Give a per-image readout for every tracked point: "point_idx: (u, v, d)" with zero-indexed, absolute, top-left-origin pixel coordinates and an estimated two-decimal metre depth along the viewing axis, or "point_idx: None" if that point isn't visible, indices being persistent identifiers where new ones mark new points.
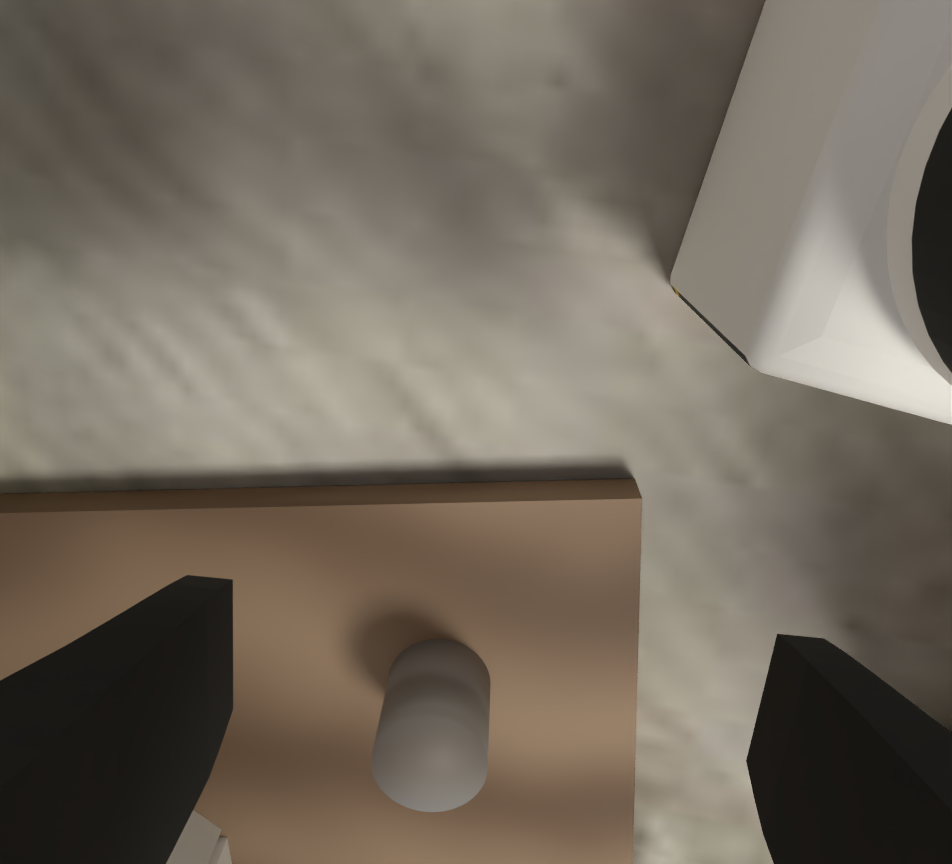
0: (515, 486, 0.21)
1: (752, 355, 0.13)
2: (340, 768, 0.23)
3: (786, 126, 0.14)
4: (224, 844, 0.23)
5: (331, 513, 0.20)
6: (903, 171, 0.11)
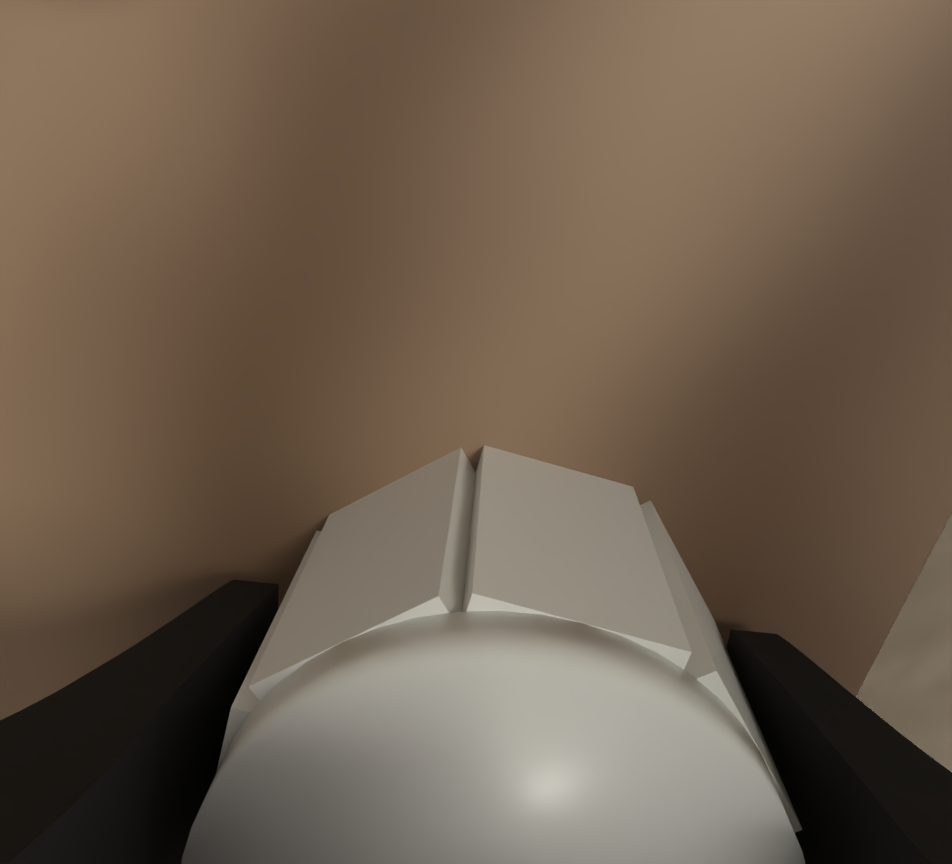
0: None
1: None
2: (369, 117, 0.10)
3: None
4: (484, 452, 0.11)
5: None
6: None
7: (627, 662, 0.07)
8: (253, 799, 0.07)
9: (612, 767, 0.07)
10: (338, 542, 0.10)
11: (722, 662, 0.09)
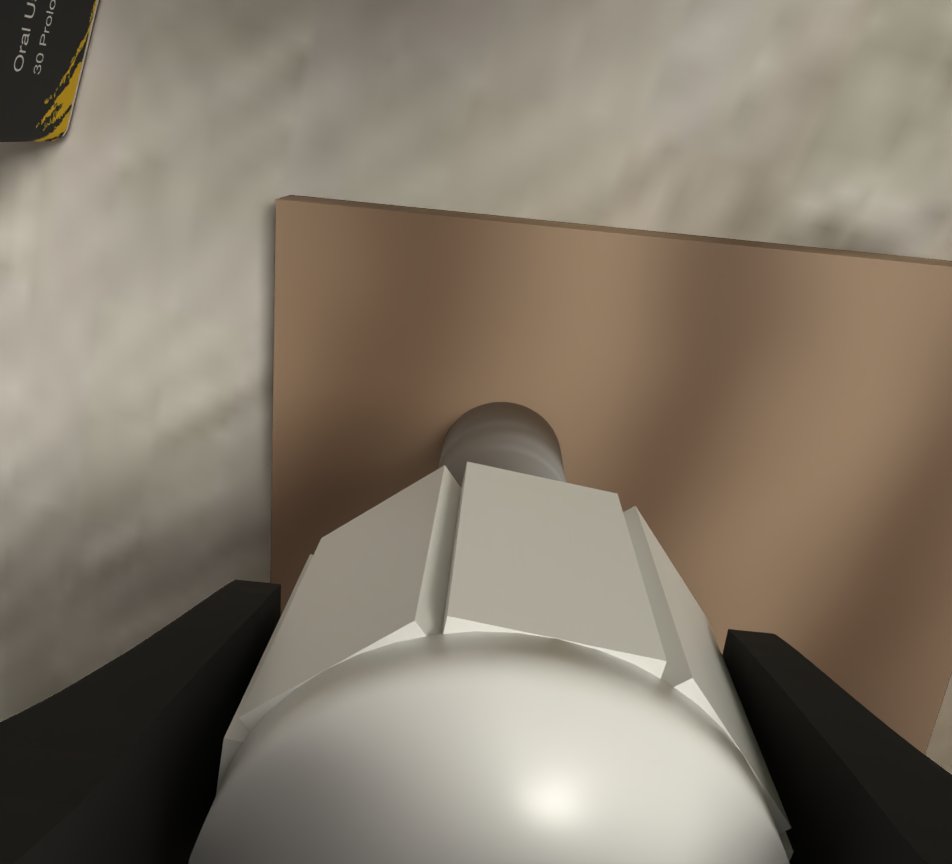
0: None
1: None
2: None
3: None
4: (468, 469, 0.11)
5: (280, 532, 0.19)
6: None
7: (601, 676, 0.07)
8: (246, 827, 0.07)
9: (590, 779, 0.07)
10: (329, 567, 0.10)
11: (706, 666, 0.09)
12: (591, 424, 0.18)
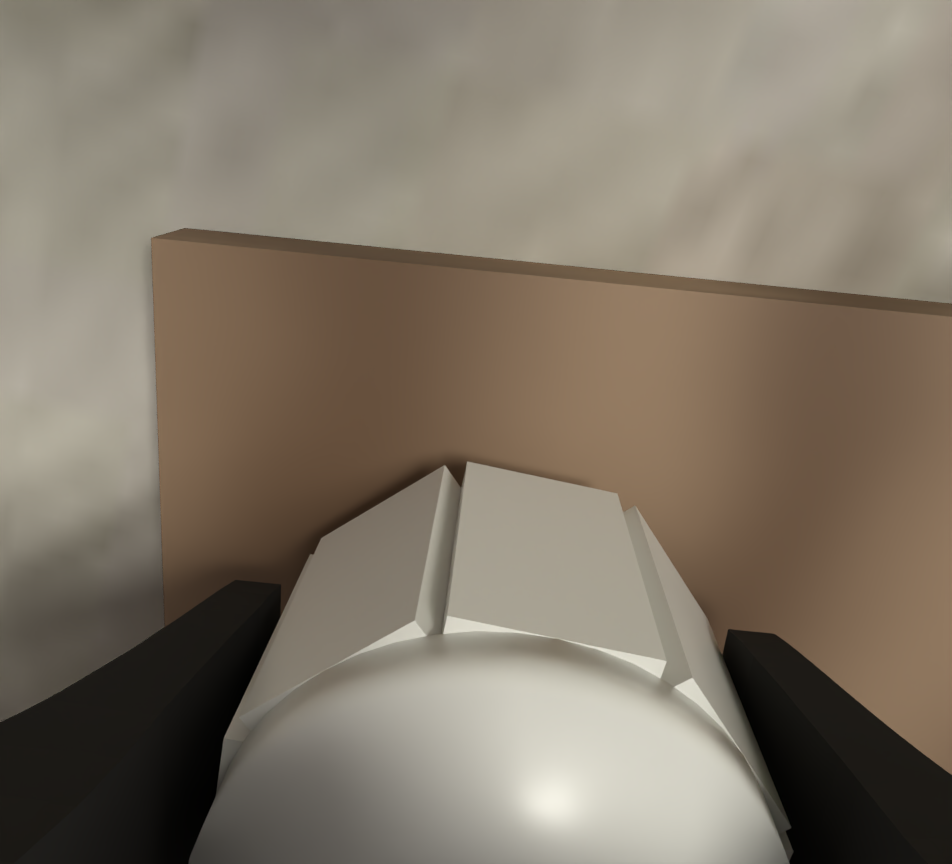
0: None
1: None
2: None
3: None
4: (467, 468, 0.11)
5: None
6: None
7: (601, 675, 0.07)
8: (246, 827, 0.07)
9: (590, 779, 0.07)
10: (328, 567, 0.10)
11: (706, 665, 0.09)
12: None
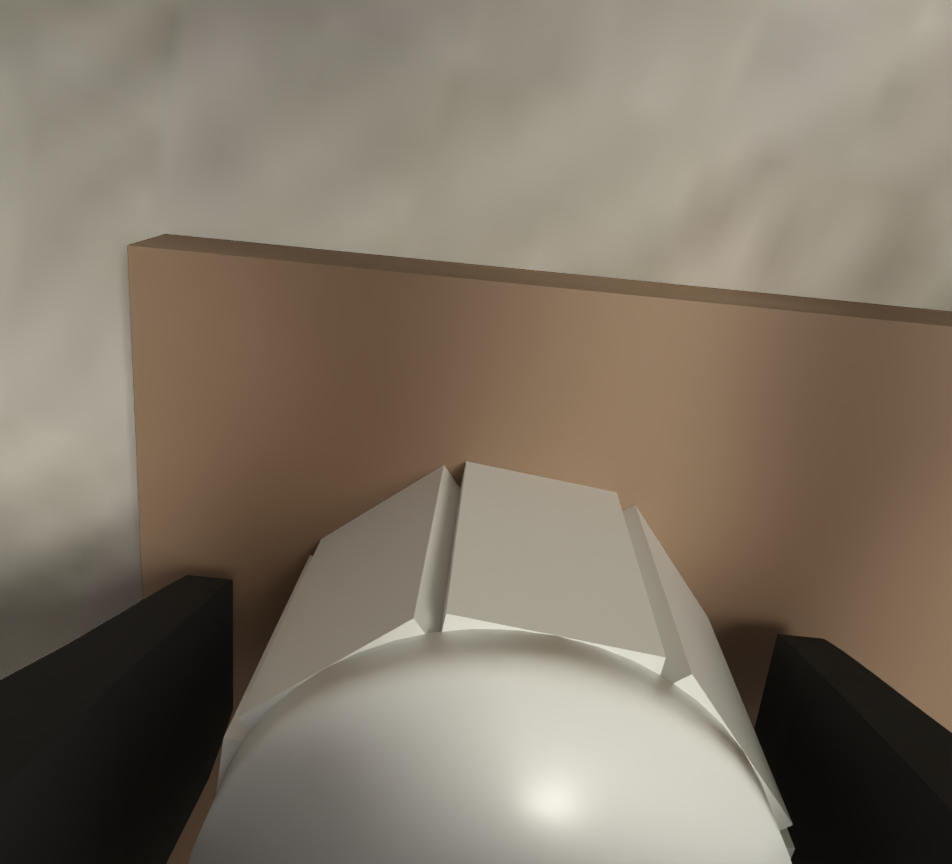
0: None
1: None
2: None
3: None
4: (466, 468, 0.11)
5: None
6: None
7: (600, 672, 0.07)
8: (246, 827, 0.07)
9: (591, 775, 0.07)
10: (328, 567, 0.10)
11: (706, 663, 0.09)
12: None
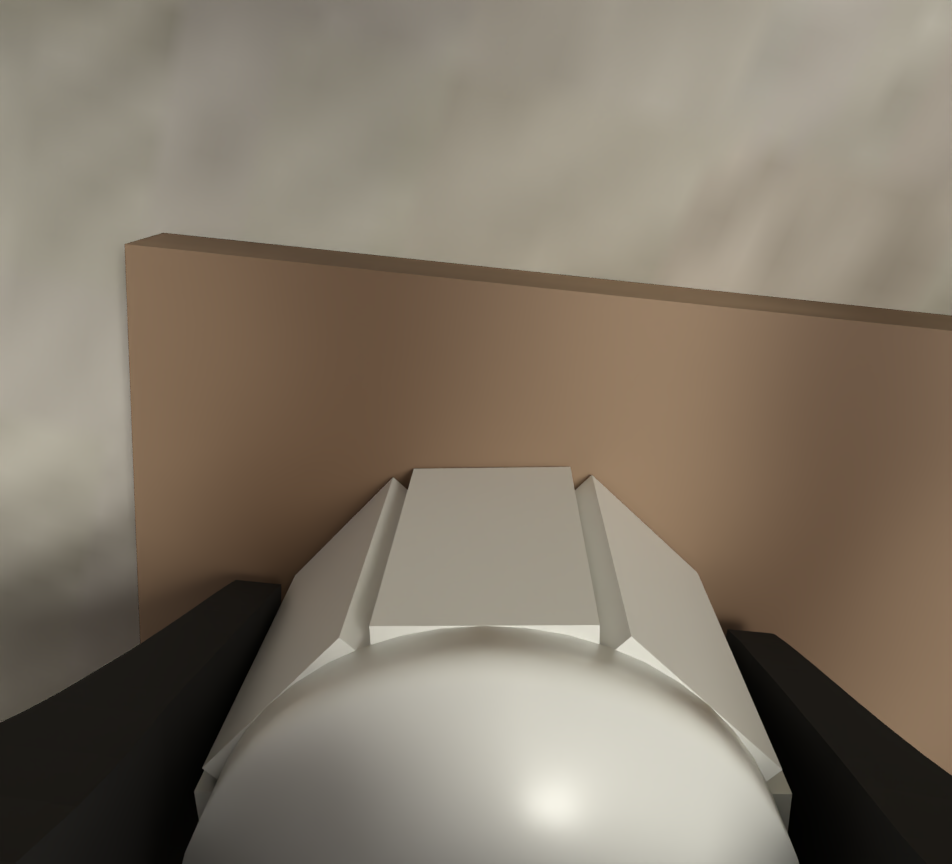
0: None
1: None
2: None
3: None
4: (292, 583, 0.11)
5: None
6: None
7: (285, 710, 0.07)
8: None
9: (346, 789, 0.07)
10: None
11: (465, 562, 0.08)
12: None
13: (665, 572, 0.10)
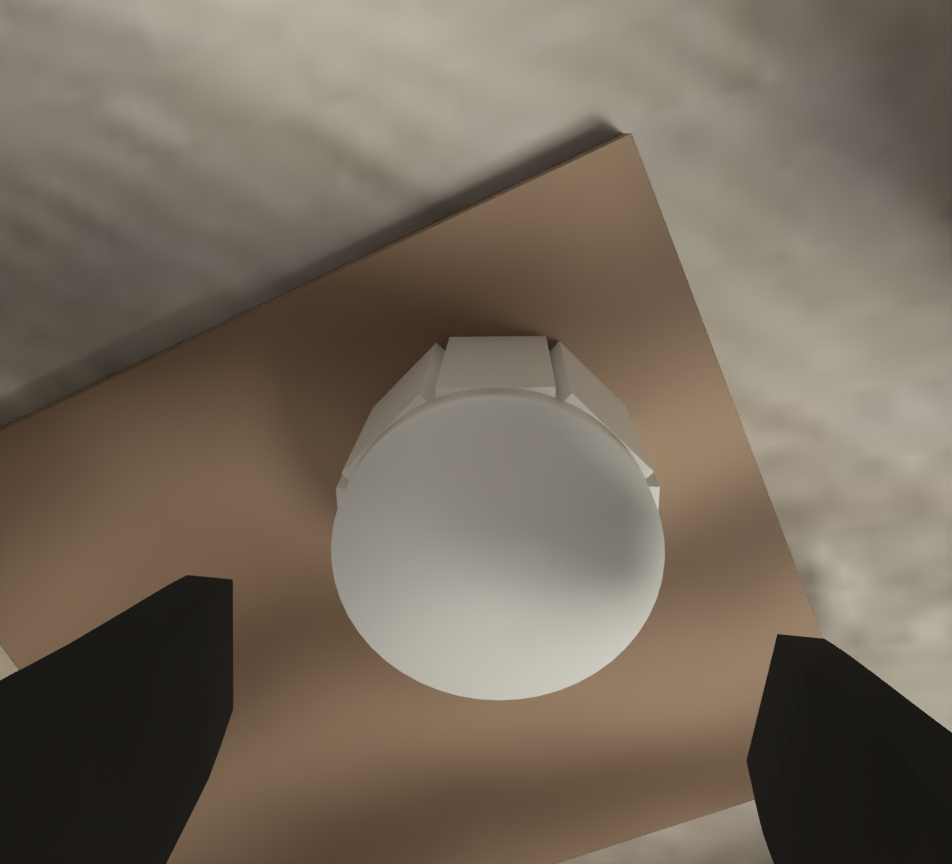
0: (491, 196, 0.18)
1: None
2: None
3: None
4: (372, 410, 0.18)
5: (301, 300, 0.17)
6: None
7: (392, 428, 0.14)
8: (369, 615, 0.15)
9: (424, 464, 0.14)
10: None
11: (484, 369, 0.15)
12: None
13: (601, 393, 0.17)
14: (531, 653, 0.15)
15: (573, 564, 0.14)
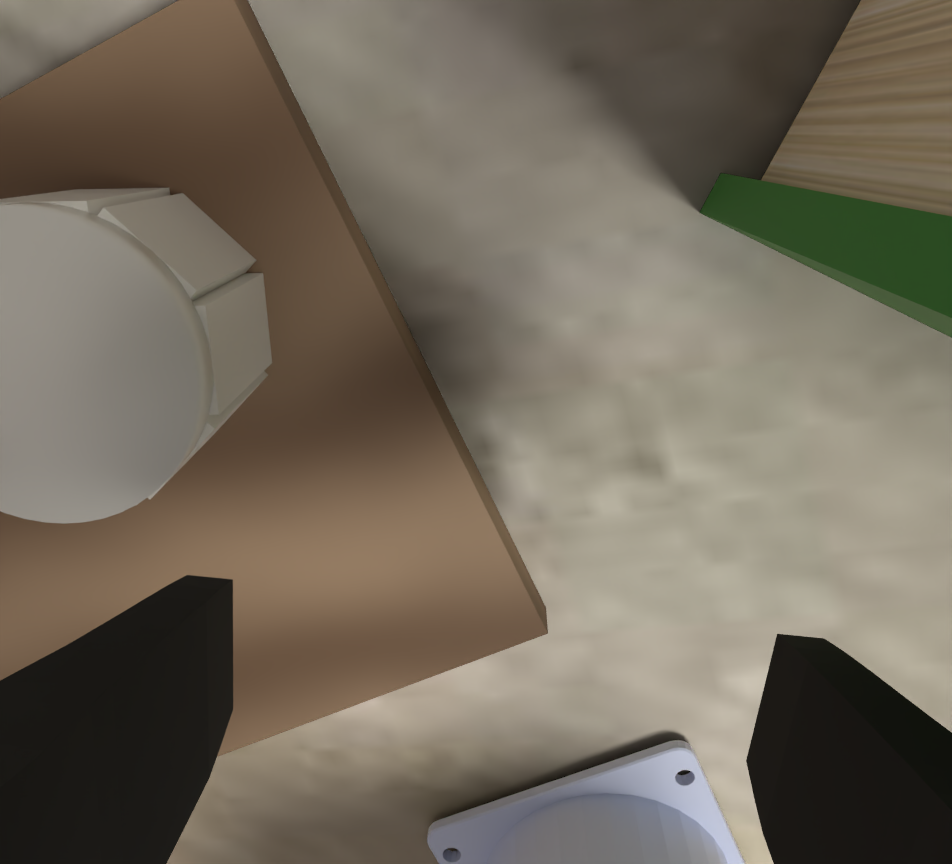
0: None
1: None
2: None
3: None
4: None
5: None
6: None
7: None
8: None
9: None
10: None
11: (50, 197, 0.15)
12: None
13: (205, 236, 0.17)
14: (86, 473, 0.15)
15: (109, 378, 0.15)
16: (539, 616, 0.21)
